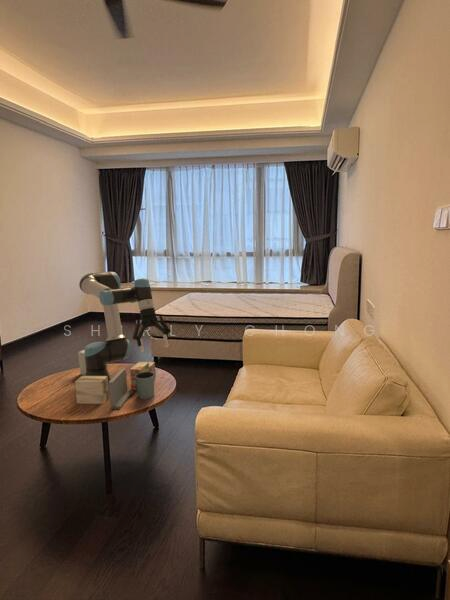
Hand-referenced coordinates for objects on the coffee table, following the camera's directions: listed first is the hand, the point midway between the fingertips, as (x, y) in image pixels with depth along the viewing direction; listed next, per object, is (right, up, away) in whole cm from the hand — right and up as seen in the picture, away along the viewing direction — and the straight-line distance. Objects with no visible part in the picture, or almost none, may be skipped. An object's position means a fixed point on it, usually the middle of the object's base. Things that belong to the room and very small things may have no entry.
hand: (155, 349), depth 194 cm
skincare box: (-51, -21, +48) cm, 73 cm away
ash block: (-34, -28, +8) cm, 45 cm away
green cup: (-7, -26, +12) cm, 30 cm away
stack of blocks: (-12, -24, +31) cm, 41 cm away
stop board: (-19, -27, +7) cm, 34 cm away
